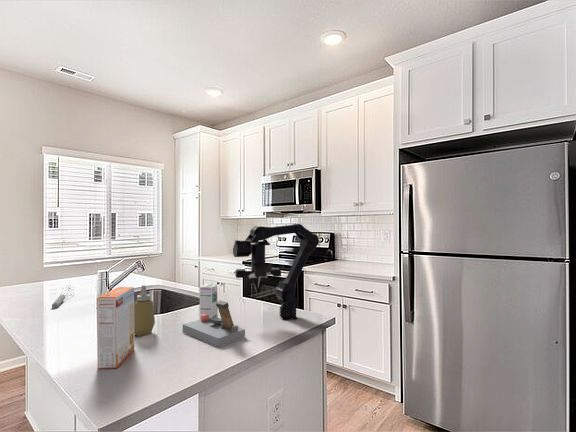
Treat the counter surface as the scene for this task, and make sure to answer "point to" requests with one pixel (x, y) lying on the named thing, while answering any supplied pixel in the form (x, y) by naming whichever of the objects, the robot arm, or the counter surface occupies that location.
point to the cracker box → (115, 327)
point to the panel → (213, 332)
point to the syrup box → (208, 300)
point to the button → (204, 317)
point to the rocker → (215, 321)
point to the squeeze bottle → (143, 314)
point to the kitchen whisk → (60, 299)
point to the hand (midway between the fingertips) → (258, 293)
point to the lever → (225, 314)
